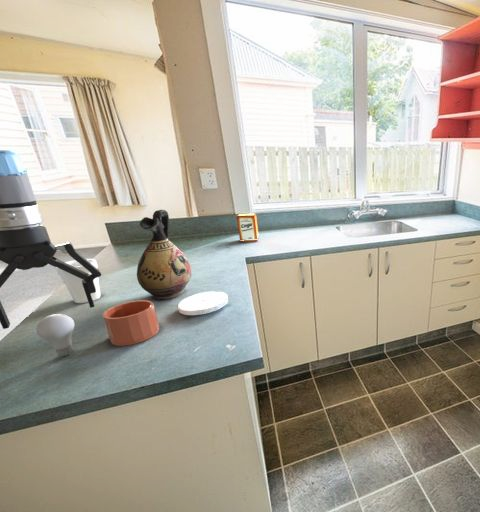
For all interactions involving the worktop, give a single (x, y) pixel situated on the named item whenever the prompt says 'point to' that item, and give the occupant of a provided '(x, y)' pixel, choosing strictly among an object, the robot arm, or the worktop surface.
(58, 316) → the lightbulb
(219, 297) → the plastic lid
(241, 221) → the baking soda box
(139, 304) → the holder
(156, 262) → the ceramic jug
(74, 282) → the foam cup
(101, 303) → the worktop surface
